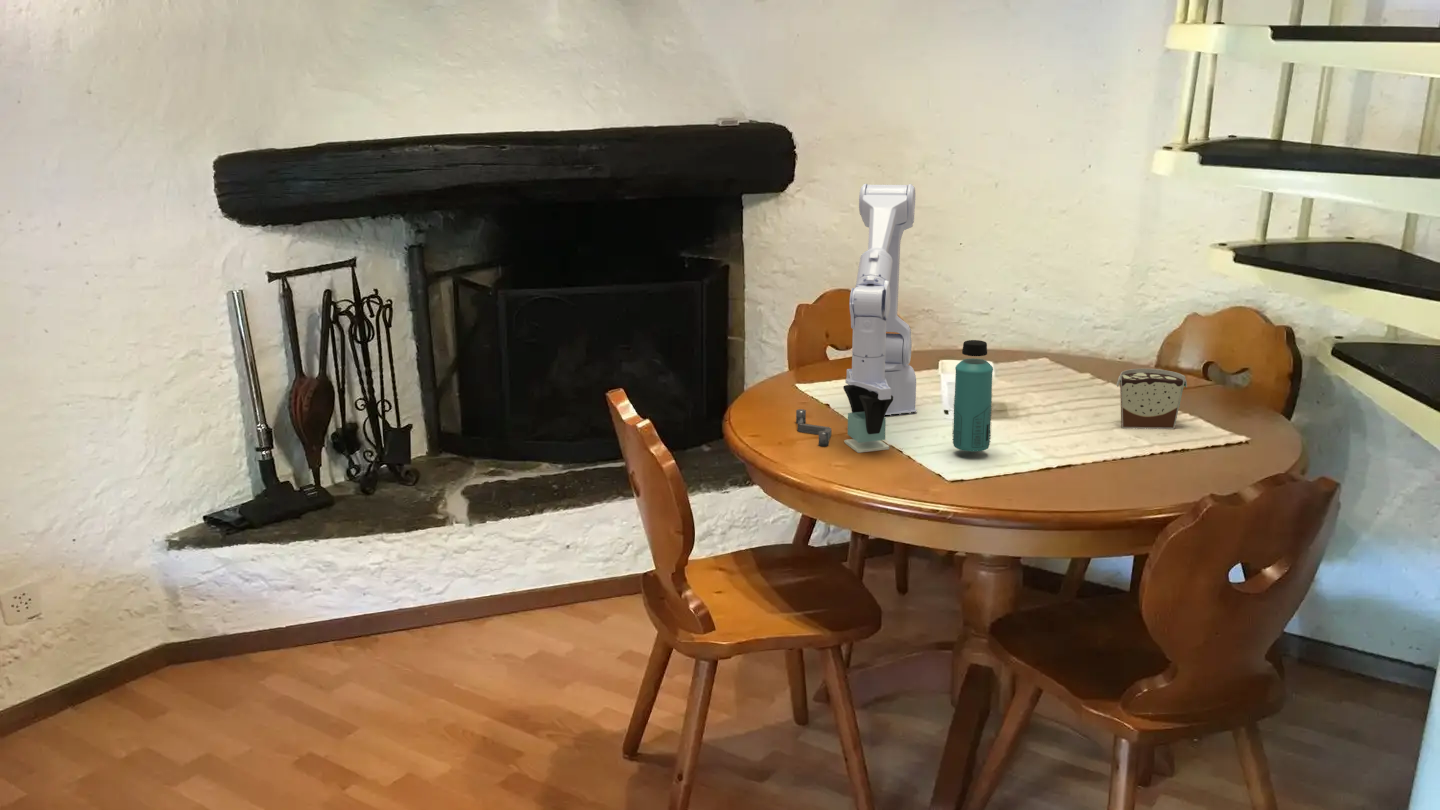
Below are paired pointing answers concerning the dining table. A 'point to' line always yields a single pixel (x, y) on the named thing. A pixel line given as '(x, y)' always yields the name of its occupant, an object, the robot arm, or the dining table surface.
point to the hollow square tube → (863, 428)
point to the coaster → (866, 445)
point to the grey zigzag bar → (813, 428)
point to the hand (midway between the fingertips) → (867, 428)
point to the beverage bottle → (972, 399)
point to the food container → (1150, 398)
